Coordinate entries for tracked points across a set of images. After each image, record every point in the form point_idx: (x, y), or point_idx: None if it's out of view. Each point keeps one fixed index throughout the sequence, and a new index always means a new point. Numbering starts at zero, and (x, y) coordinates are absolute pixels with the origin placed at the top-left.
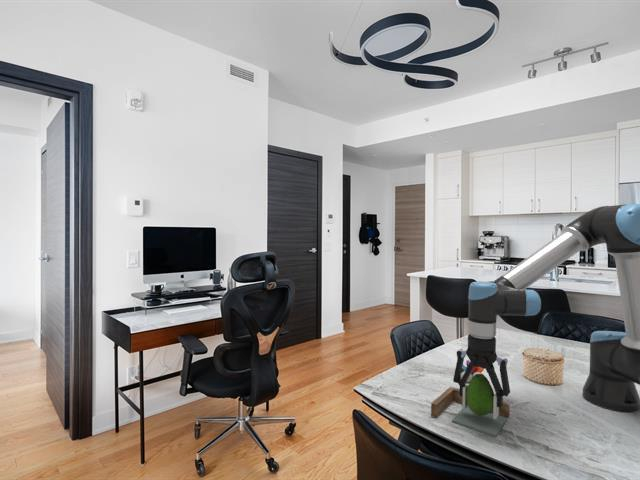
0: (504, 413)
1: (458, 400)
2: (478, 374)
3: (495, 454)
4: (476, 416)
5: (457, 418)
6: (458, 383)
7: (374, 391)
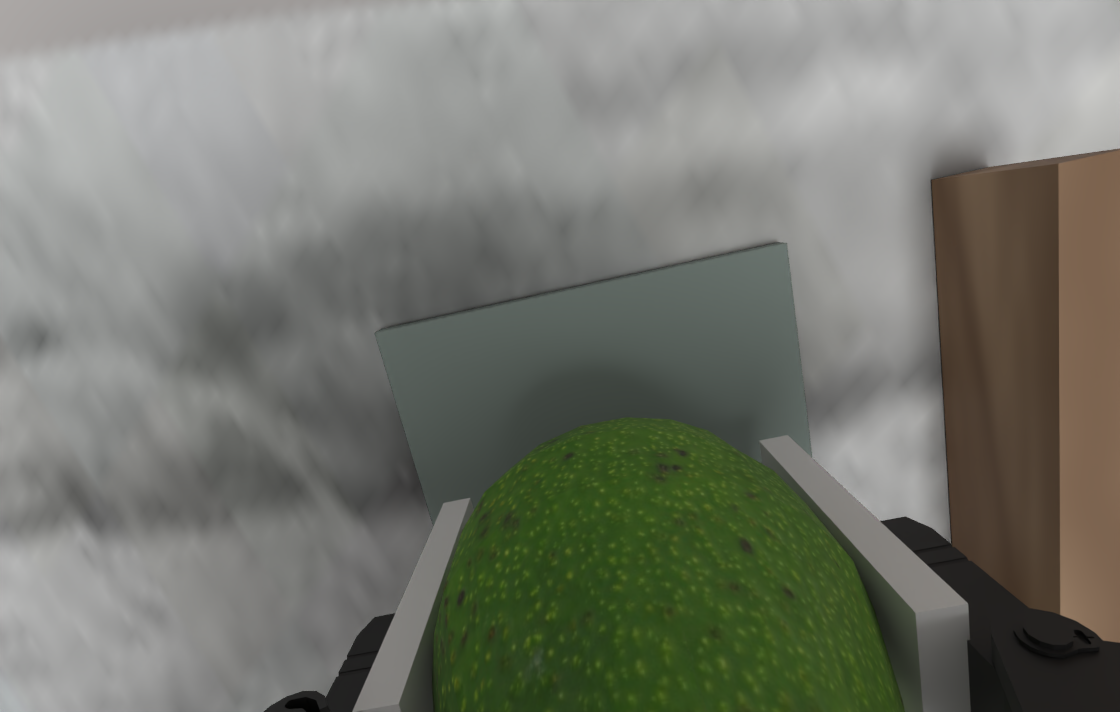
0: None
1: None
2: None
3: (223, 51)
4: None
5: (762, 317)
6: (1110, 647)
7: None
